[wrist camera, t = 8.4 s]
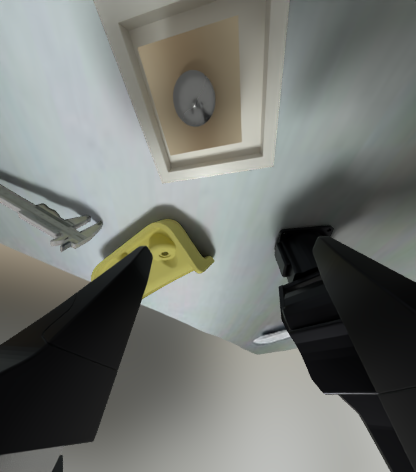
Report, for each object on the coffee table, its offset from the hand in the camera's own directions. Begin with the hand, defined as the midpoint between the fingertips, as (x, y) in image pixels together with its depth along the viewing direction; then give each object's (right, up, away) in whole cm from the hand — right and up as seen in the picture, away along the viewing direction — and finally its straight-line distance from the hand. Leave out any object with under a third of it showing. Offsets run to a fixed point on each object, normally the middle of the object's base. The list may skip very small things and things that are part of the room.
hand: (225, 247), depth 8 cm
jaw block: (-1, +12, +4) cm, 12 cm away
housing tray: (-1, +12, +5) cm, 13 cm away
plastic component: (-11, -3, +19) cm, 22 cm away
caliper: (-25, +7, +12) cm, 29 cm away
